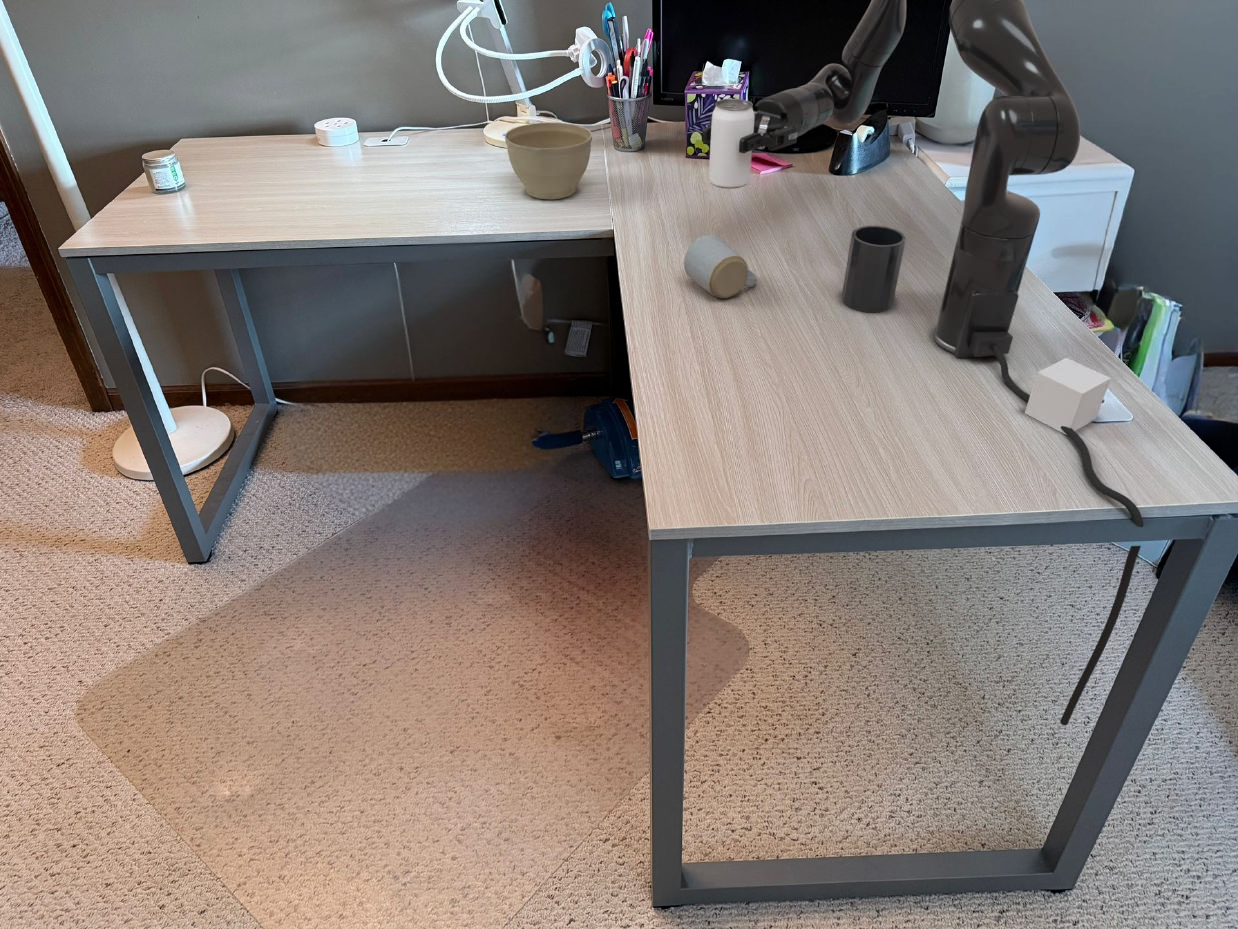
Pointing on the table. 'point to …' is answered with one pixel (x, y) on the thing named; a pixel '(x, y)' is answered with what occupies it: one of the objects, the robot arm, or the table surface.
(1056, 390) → the white cube
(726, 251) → the ceramic mug
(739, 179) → the can
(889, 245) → the pen cup
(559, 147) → the planter bowl
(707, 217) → the table surface
